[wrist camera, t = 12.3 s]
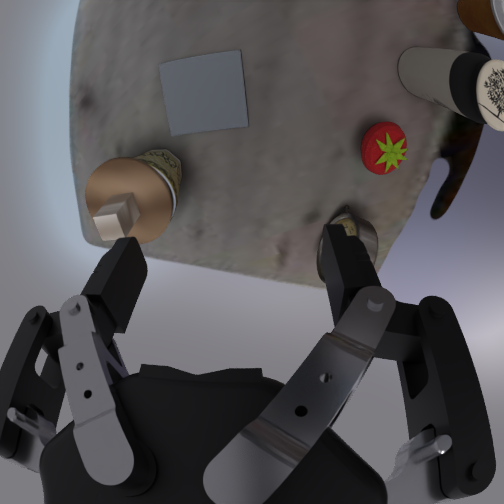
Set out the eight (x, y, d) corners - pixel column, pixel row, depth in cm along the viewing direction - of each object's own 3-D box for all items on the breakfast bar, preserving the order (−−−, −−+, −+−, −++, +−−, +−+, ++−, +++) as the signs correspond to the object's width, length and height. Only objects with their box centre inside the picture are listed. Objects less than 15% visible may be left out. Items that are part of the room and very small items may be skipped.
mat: (159, 64, 31) (158, 64, 30) (240, 50, 30) (240, 50, 29) (172, 135, 38) (171, 136, 37) (248, 125, 37) (248, 126, 36)
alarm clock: (342, 195, 43) (373, 263, 30) (368, 208, 44) (404, 276, 31) (310, 246, 49) (324, 320, 37) (335, 256, 51) (355, 328, 38)
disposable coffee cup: (445, 21, 23) (496, 22, 13) (452, -21, 17) (499, -28, 7) (486, 51, 24) (536, 63, 14) (493, 10, 18) (541, 15, 8)
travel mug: (408, 37, 26) (491, 41, 12) (447, 66, 27) (532, 91, 13) (389, 79, 31) (465, 104, 17) (429, 106, 32) (507, 148, 18)
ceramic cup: (190, 136, 38) (171, 160, 30) (195, 197, 44) (180, 233, 36) (111, 142, 38) (78, 167, 30) (121, 197, 44) (95, 231, 36)
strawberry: (342, 150, 38) (363, 177, 30) (364, 105, 34) (392, 122, 26) (375, 165, 39) (400, 195, 32) (396, 124, 35) (429, 145, 27)
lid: (77, 167, 30) (51, 189, 25) (160, 148, 29) (140, 169, 24) (106, 242, 37) (89, 270, 33) (182, 236, 36) (171, 267, 32)
